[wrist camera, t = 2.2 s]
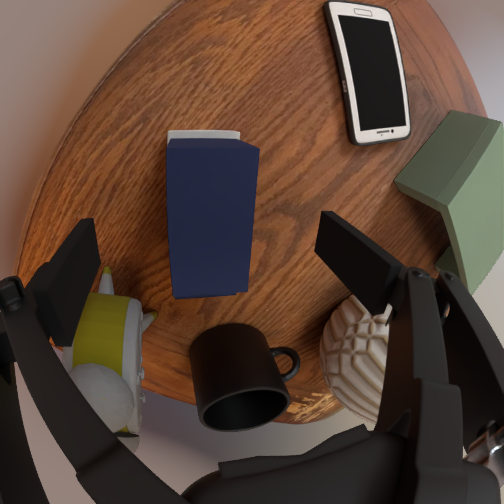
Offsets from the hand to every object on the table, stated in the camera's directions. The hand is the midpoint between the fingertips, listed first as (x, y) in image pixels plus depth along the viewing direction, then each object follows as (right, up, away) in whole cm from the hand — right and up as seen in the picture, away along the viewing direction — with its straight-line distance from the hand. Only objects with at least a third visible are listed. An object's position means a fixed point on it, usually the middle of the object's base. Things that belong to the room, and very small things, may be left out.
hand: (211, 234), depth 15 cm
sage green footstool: (+29, +6, +15) cm, 33 cm away
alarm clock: (-11, -7, +11) cm, 16 cm away
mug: (+1, -12, +17) cm, 21 cm away
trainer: (-2, +3, +8) cm, 8 cm away
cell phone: (+13, +16, +5) cm, 21 cm away
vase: (+16, -9, +20) cm, 27 cm away
